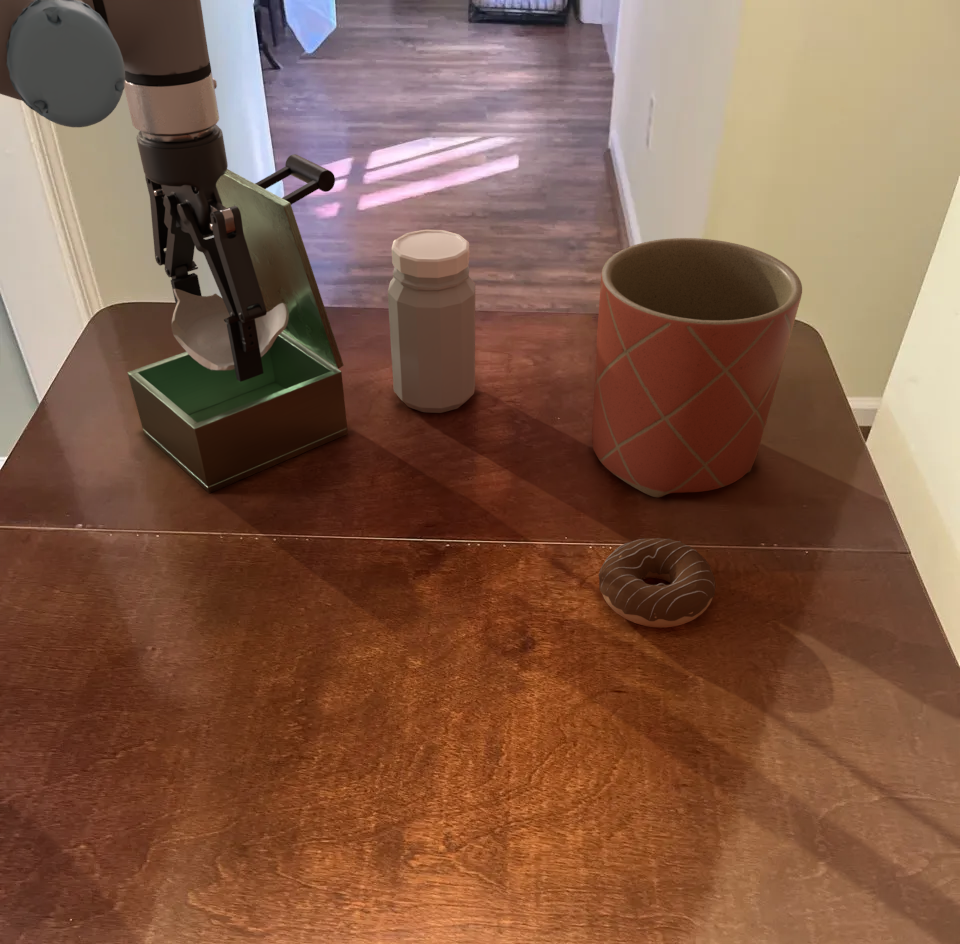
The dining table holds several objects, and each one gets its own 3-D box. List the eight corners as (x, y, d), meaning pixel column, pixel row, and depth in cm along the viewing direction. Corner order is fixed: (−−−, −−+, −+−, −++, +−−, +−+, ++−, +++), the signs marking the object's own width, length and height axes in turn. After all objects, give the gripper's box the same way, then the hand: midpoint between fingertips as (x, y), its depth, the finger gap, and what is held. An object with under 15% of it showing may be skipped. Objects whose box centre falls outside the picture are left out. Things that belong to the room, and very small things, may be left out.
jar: (377, 393, 117) (365, 242, 104) (439, 366, 122) (435, 218, 109) (430, 426, 112) (424, 272, 99) (492, 396, 117) (495, 245, 104)
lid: (283, 206, 90) (354, 165, 93) (204, 163, 98) (271, 127, 101) (338, 369, 105) (398, 330, 107) (265, 320, 113) (322, 285, 115)
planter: (641, 524, 99) (669, 340, 85) (554, 429, 111) (566, 255, 98) (795, 479, 105) (845, 300, 91) (697, 394, 117) (727, 225, 103)
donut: (720, 638, 87) (728, 605, 84) (601, 636, 87) (605, 603, 85) (703, 561, 95) (710, 528, 92) (593, 559, 95) (597, 526, 92)
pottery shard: (166, 332, 104) (157, 292, 100) (264, 306, 108) (260, 266, 104) (202, 393, 100) (194, 353, 95) (303, 363, 103) (300, 323, 99)
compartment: (209, 493, 102) (194, 428, 97) (144, 434, 110) (127, 371, 105) (348, 434, 111) (341, 371, 105) (278, 383, 118) (268, 322, 113)
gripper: (283, 152, 83) (313, 386, 99) (156, 90, 95) (200, 306, 111) (204, 172, 80) (248, 412, 95) (82, 105, 92) (139, 327, 107)
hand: (222, 355), depth 103 cm, fingers closed on pottery shard, 10 cm apart
